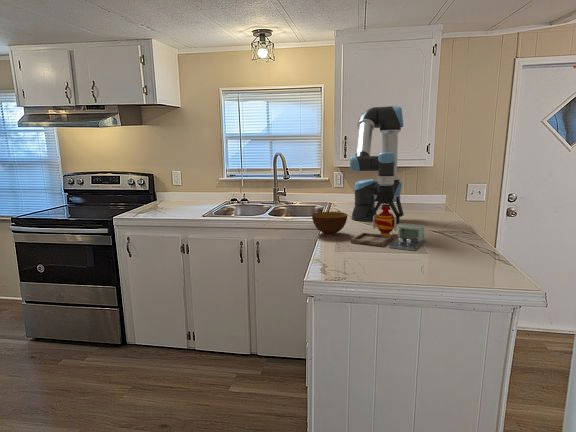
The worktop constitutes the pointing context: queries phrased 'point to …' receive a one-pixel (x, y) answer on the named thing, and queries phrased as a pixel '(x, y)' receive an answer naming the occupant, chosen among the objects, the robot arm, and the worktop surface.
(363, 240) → the tray
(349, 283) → the worktop surface
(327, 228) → the bowl
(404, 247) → the stub plate
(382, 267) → the worktop surface
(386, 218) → the potion bottle
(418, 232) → the block
